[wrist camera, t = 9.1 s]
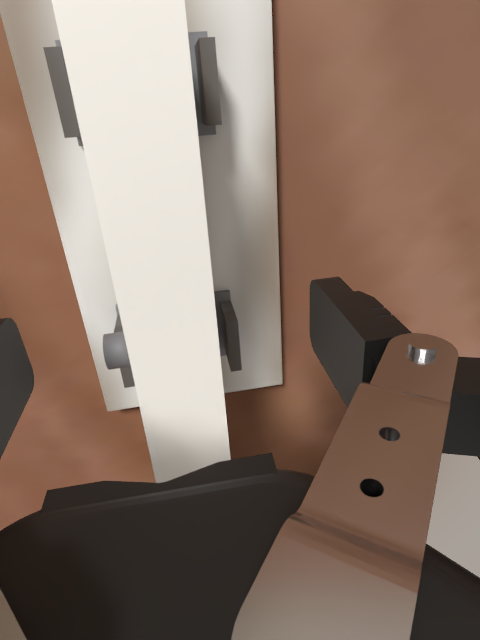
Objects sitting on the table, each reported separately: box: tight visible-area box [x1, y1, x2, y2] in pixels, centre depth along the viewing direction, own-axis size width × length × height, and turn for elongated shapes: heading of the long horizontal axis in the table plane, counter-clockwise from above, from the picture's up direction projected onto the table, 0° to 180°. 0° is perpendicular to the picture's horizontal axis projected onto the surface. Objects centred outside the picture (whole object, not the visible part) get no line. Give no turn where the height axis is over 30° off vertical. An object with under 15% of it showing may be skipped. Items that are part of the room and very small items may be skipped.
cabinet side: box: [0, 0, 283, 411], centre depth 21 cm, size 11×22×4 cm, turn 4°
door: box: [52, 0, 231, 483], centre depth 17 cm, size 4×16×9 cm, turn 4°
